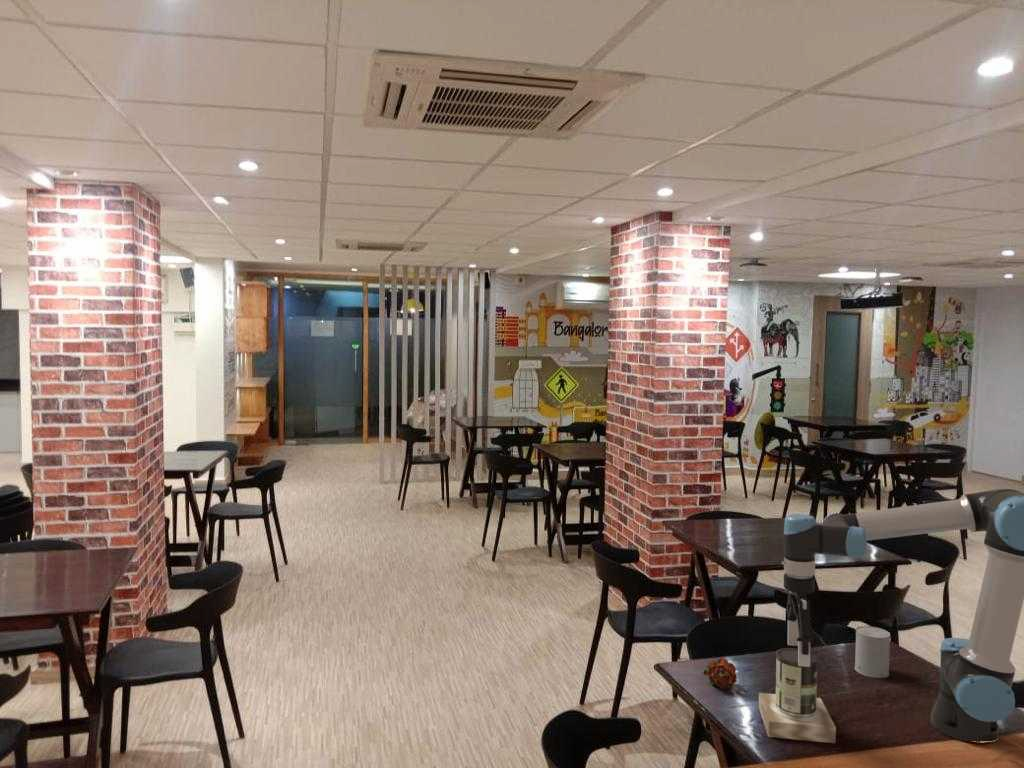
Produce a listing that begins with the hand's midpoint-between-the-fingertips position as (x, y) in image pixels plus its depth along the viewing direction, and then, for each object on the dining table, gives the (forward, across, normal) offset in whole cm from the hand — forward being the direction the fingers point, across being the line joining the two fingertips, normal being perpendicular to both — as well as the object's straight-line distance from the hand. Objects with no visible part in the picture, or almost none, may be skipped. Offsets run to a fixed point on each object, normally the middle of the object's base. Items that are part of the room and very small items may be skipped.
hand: (798, 655), depth 192 cm
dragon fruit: (+18, -20, -18) cm, 32 cm away
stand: (+18, 0, -1) cm, 18 cm away
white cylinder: (+19, -39, +29) cm, 53 cm away
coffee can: (+14, 0, -1) cm, 14 cm away
